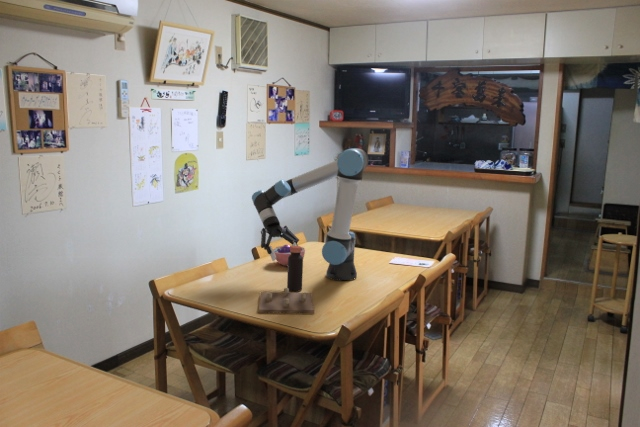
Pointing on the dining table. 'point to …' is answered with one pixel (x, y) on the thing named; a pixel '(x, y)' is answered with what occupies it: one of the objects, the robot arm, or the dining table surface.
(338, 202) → the robot arm
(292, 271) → the vinegar
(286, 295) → the peg stand
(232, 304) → the dining table surface
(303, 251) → the cell model
